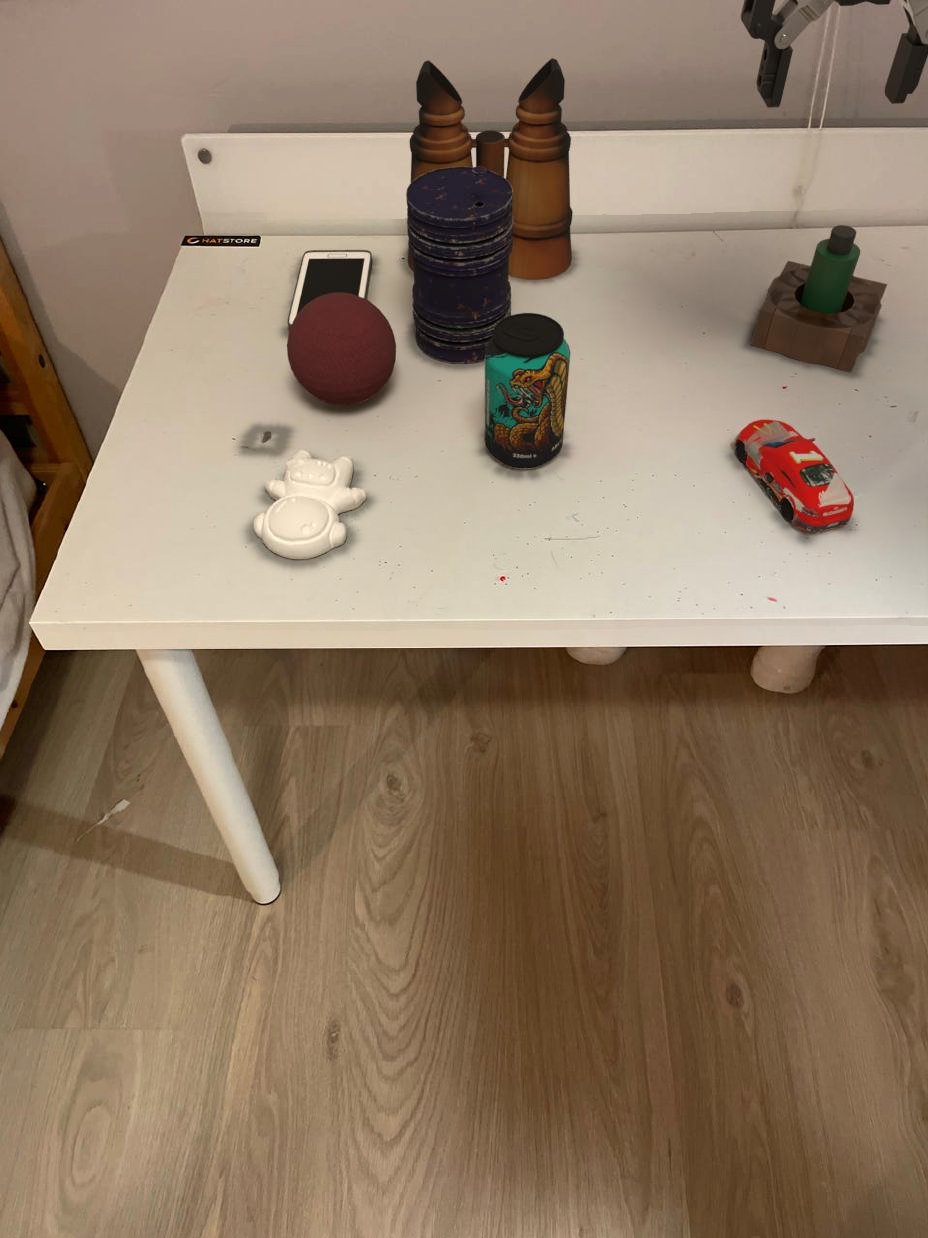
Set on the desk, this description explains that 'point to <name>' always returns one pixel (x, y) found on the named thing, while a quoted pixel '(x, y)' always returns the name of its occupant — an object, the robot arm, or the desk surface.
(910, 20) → the robot arm
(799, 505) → the race car
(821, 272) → the bottle
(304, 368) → the decorative ball
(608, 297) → the desk surface
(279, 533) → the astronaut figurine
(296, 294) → the cell phone
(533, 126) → the binoculars
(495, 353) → the beverage can
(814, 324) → the ashtray
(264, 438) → the dark square tile
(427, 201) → the dark blue cylinder
